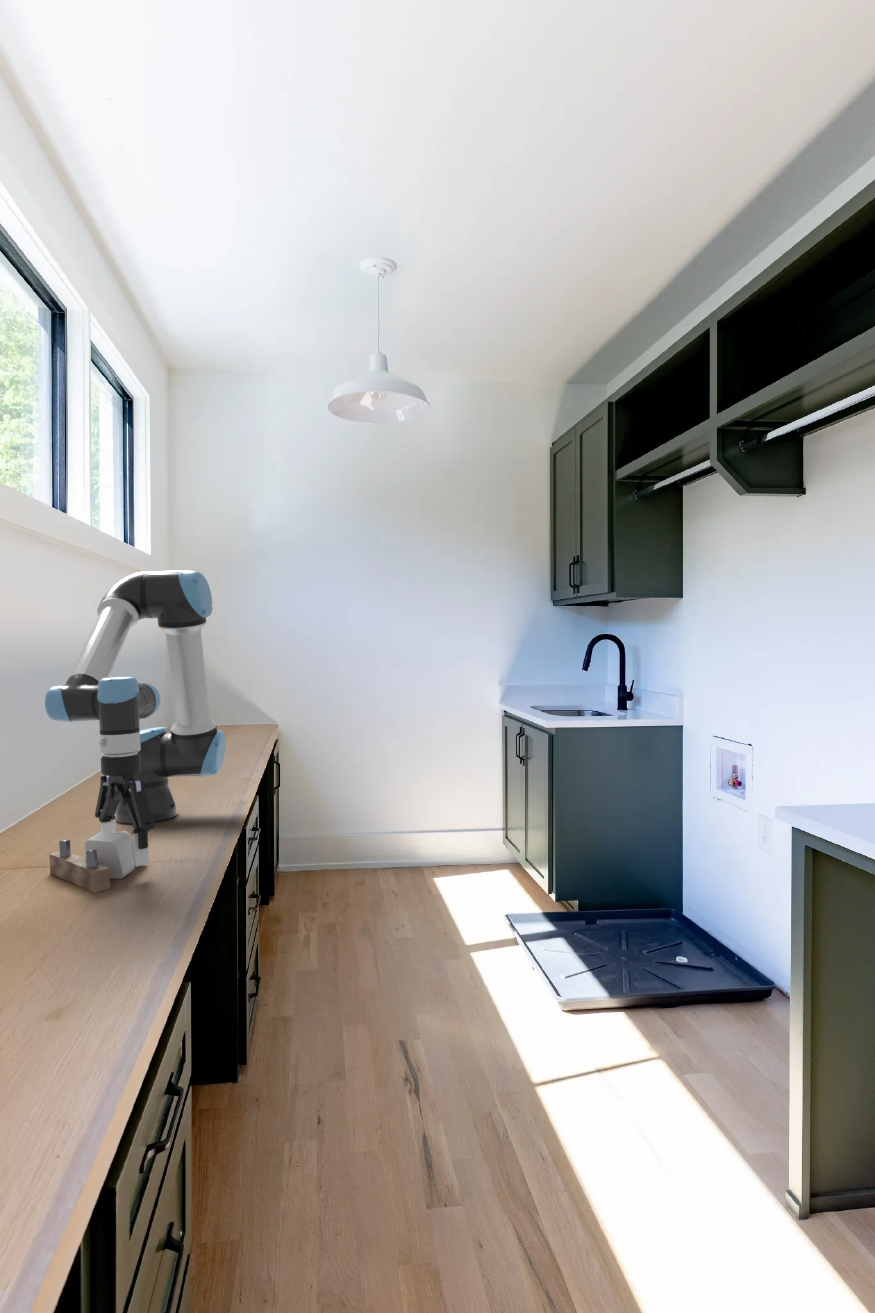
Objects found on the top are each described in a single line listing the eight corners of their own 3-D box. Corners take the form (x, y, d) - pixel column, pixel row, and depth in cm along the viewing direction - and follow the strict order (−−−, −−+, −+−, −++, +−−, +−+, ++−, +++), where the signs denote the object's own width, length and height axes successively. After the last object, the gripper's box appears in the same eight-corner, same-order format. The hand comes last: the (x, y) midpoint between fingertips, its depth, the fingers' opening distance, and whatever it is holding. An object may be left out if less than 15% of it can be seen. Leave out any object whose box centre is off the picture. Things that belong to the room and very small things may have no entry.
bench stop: (50, 873, 165) (48, 839, 165) (65, 869, 167) (63, 836, 167) (94, 892, 151) (92, 855, 151) (110, 888, 153) (108, 852, 153)
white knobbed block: (160, 861, 169) (150, 818, 167) (126, 888, 160) (115, 842, 157) (129, 859, 172) (119, 816, 169) (94, 884, 163) (83, 839, 160)
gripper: (75, 751, 169) (79, 852, 170) (132, 762, 152) (137, 874, 153) (110, 746, 175) (114, 844, 175) (169, 756, 158) (174, 865, 158)
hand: (125, 858), depth 164 cm, fingers open, 13 cm apart
